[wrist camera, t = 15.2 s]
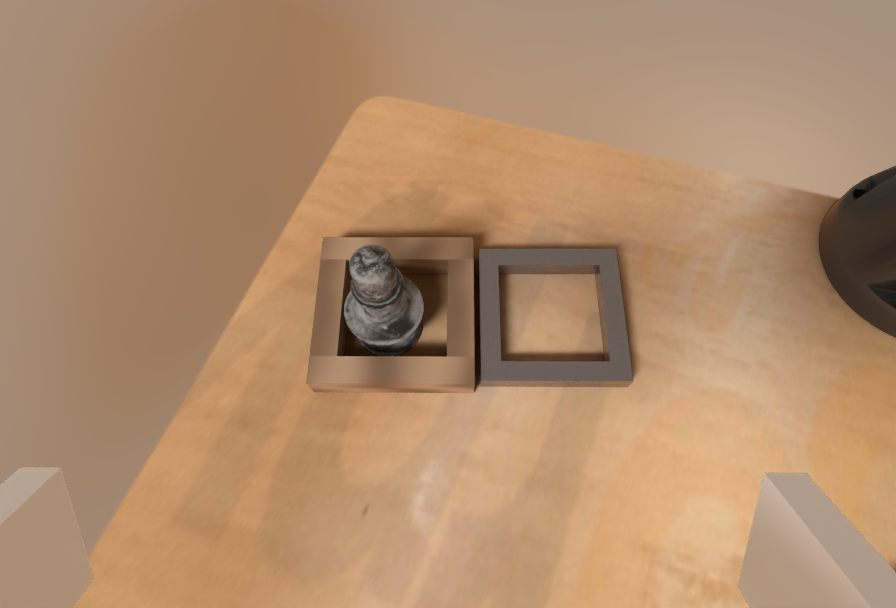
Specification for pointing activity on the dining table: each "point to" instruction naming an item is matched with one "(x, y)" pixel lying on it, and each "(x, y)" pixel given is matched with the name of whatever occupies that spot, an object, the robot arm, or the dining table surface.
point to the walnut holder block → (394, 371)
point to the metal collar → (554, 372)
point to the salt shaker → (382, 303)
